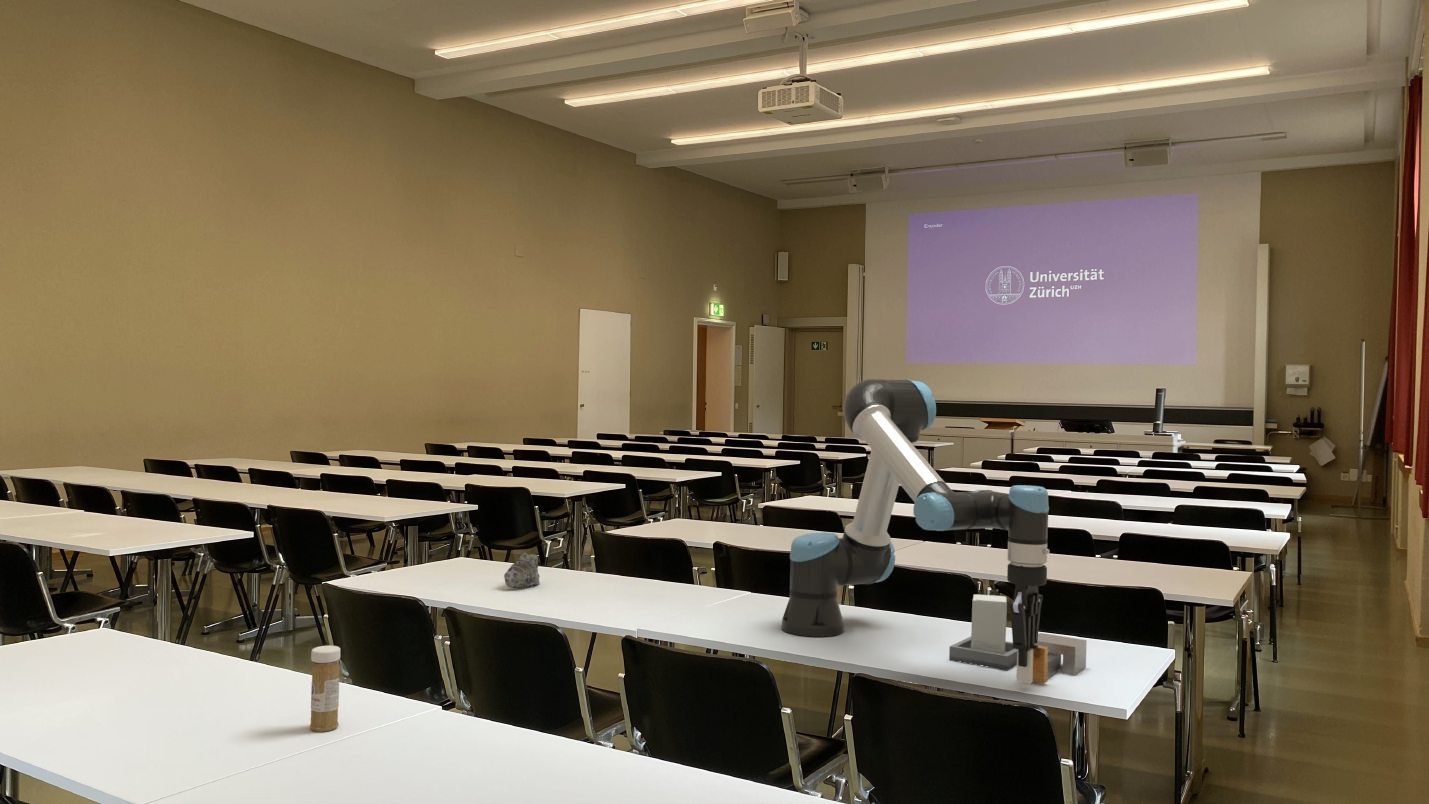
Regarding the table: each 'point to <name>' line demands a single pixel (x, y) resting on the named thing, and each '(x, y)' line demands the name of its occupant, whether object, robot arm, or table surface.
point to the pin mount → (1066, 651)
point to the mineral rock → (523, 572)
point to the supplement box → (989, 623)
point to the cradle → (983, 655)
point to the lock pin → (1044, 664)
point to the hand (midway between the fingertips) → (1024, 681)
